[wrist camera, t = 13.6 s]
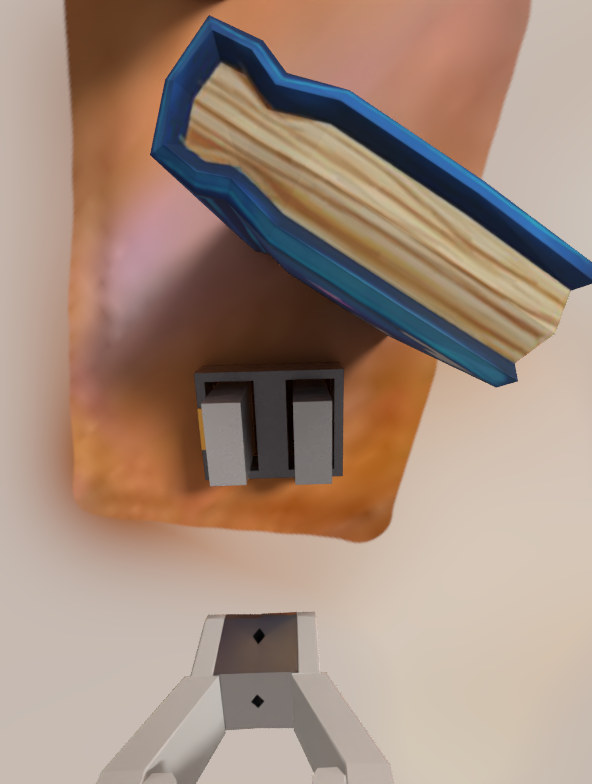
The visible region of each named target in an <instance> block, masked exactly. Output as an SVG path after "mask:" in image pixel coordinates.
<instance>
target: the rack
mask: <svg viewBox="0 0 592 784" xmlns="http://www.w3.org/2000/svg"><path fill="white" fill-rule="evenodd" d="M194 378H195V387H196V396H197V406H198V409H197V411H198V420H199V430H200V439H201V448H202V451H203V461H204V470H205V479H206V480H209V472H208V463H207V453H206V444H205V435H204V426H203V417H202V407H201V403H202V402H203V401H204V400H205V398H206V397H207V396H208V395H209V393H210V392H211V391H212V389H213V382H223V381H253V382H254V399H255V415H256V431H257V447H258V456H253V459H252V464H251V468H250V472H249V477H248V479H254V478H289V477H295V485H301V484H332V476H343V394H344V369H343V367H342V366H341V364H340V363H339V362H320V363H284V364H248V365H212V366H202V367H201V368H200V369H199V370H197V371H196V372H195V373H194ZM330 378H331V396H330V394H329V391H328V388H327V385H326V382H325V380H324V379H330ZM286 380H293V419H294V453H295V455H289V445H288V416H287V387H286Z"/></svg>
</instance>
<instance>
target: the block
mask: <svg viewBox="0 0 592 784" xmlns="http://www.w3.org/2000/svg"><path fill="white" fill-rule="evenodd" d="M201 407H202V417H203V426H204V435H205V444H206V453H207V463H208V472H209V481H210V486H229V485H247V481H248V477H249V472H250V468H251V464H252V459H253V455H254V451H255V438H254V423H253V408H252V393H251V381H223V382H218V383H217V384H216V386H215V387H214V388H213V389H212V391H211V392H210V393H209V395H208V396H207V397H206V398H205V400H204V401H203V402H202V403H201Z"/></svg>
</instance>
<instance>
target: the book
mask: <svg viewBox="0 0 592 784" xmlns="http://www.w3.org/2000/svg"><path fill="white" fill-rule="evenodd" d="M150 155H151V156H152V157H153V158H154V159H155V160H156V161H157V162H158V163H159V164H160V165H161V166H163V167H164V168H165V169H166V170H167V171H168V172H169V173H170V174H171V175H172V176H173V177H175V178H176V179H177V180H178V181H179V182H180V183H181V184H182V185H183V186H184V187H185V188H187V189H188V190H189V191H190V192H191V193H192V194H193V195H194V196H195V197H196V198H197V199H199V200H200V201H201V202H202V203H203V204H204V205H205V206H206V207H207V208H208V209H209V210H211V211H212V212H213V213H214V214H215V215H216V216H217V217H218V218H219V219H220V220H221V221H223V222H224V223H225V224H226V225H227V226H228V227H229V228H230V229H231V230H232V231H233V232H234V233H236V234H237V235H238V236H239V237H240V238H241V239H242V240H244V241H245V242H246V243H247V244H248V245H249V246H251V247H252V248H253V249H254V250H255V251H258V252H262V253H267V254H270V255H271V256H272V257H273V258H274V259H275V260H276V261H277V262H278V263H279V264H280V265H281V266H282V267H283V268H284V269H285V270H286V271H287V272H288V273H289V274H290V275H292V276H294V277H295V278H297V279H298V280H300V281H301V282H303V283H304V284H306V285H308V286H309V287H311V288H312V289H314V290H315V291H317V292H318V293H320V294H322V295H323V296H325V297H326V298H328V299H329V300H331V301H333V302H334V303H336V304H337V305H339V306H340V307H342V308H344V309H345V310H347V311H349V312H350V313H352V314H353V315H355V316H357V317H358V318H360V319H362V320H363V321H365V322H367V323H368V324H370V325H371V326H373V327H375V328H376V329H378V330H380V331H381V332H383V333H385V334H386V335H388V336H390V337H392V338H394V339H396V340H398V341H400V342H402V343H404V344H406V345H409V346H411V347H413V348H415V349H417V350H419V351H421V352H423V353H425V354H427V355H429V356H432V357H434V358H436V359H438V360H440V361H442V362H444V363H446V364H448V365H450V366H452V367H454V368H457V369H459V370H461V371H463V372H465V373H467V374H469V375H471V376H473V377H475V378H478V379H480V380H482V381H484V382H486V383H488V384H490V385H492V386H494V387H500V386H503V385H506V384H510V383H514V382H517V381H518V379H517V374H516V369H515V363H516V362H517V361H518V360H520V359H521V358H522V357H524V356H525V355H527V354H528V353H529V352H531V351H532V350H533V349H535V348H536V347H537V346H539V345H540V344H541V343H543V342H544V341H545V340H547V339H548V338H550V337H551V336H552V335H554V334H555V332H556V329H557V327H558V324H559V321H560V319H561V316H562V313H563V310H564V308H565V305H566V302H567V300H568V297H569V294H570V291H571V290H574V289H577V288H580V287H583V286H586V285H589V284H592V262H591V261H590V260H588V259H587V258H585V257H584V256H583V255H582V254H580V253H579V252H578V251H576V250H575V249H574V248H572V247H571V246H570V245H568V244H567V243H566V242H564V241H563V240H562V239H560V238H559V237H558V236H556V235H555V234H554V233H552V232H551V231H550V230H548V229H547V228H546V227H544V226H543V225H542V224H540V223H539V222H538V221H536V220H535V219H534V218H532V217H531V216H529V215H528V214H527V213H526V212H524V211H523V210H522V209H520V208H519V207H517V206H516V205H515V204H514V203H512V202H511V201H510V200H508V199H507V198H506V197H504V196H503V195H502V194H500V193H499V192H498V191H496V190H495V189H494V188H492V187H491V186H490V185H488V184H487V183H486V182H484V181H483V180H482V179H480V178H479V177H477V176H476V175H474V174H473V173H471V172H470V171H468V170H467V169H465V168H464V167H462V166H461V165H459V164H458V163H456V162H455V161H453V160H452V159H451V158H449V157H448V156H446V155H445V154H443V153H442V152H440V151H439V150H437V149H436V148H434V147H433V146H431V145H430V144H428V143H427V142H425V141H424V140H422V139H421V138H419V137H418V136H416V135H415V134H413V133H412V132H411V131H409V130H408V129H406V128H405V127H403V126H402V125H400V124H399V123H397V122H396V121H394V120H393V119H391V118H390V117H388V116H387V115H385V114H384V113H382V112H381V111H379V110H378V109H376V108H375V107H373V106H372V105H371V104H369V103H368V102H366V101H365V100H363V99H362V98H360V97H359V96H357V95H356V94H354V93H353V92H351V91H350V90H347V89H343V88H339V87H336V86H332V85H328V84H325V83H321V82H318V81H314V80H310V79H307V78H303V77H299V76H296V75H292V74H288V73H286V71H285V70H284V69H283V67H282V66H281V65H280V63H279V62H278V60H277V59H276V58H275V56H274V55H273V54H272V52H271V51H270V50H269V48H268V47H267V45H266V44H265V43H264V41H263V40H260V39H258V38H256V37H254V36H252V35H250V34H248V33H246V32H244V31H241V30H239V29H237V28H235V27H233V26H231V25H229V24H227V23H225V22H222V21H220V20H218V19H216V18H214V17H212V16H210V15H209V16H208V17H207V19H206V20H205V22H204V23H203V25H202V26H201V28H200V29H199V31H198V32H197V34H196V35H195V37H194V38H193V39H192V41H191V42H190V44H189V45H188V47H187V48H186V50H185V51H184V53H183V54H182V56H181V57H180V59H179V60H178V62H177V63H176V65H175V66H174V68H173V69H172V71H171V72H170V73H169V75H168V76H167V78H166V79H165V84H164V89H163V93H162V98H161V103H160V108H159V113H158V118H157V123H156V128H155V133H154V138H153V143H152V148H151V153H150Z"/></svg>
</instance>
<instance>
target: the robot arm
mask: <svg viewBox="0 0 592 784" xmlns="http://www.w3.org/2000/svg"><path fill="white" fill-rule="evenodd" d="M251 728H294V731H295V733H296V736H297V738H298V739H299V742H300V744H301V746H302V748H303V750H304V752H305V755H306V757H307V759H308V761H309V763H310V765H311V767H312V770H313V772H314V775H313V776H312V784H394V782H393V777H392V772H391V767H390V763H389V762H388V760H387V759H386V758H385V756H384V755H383V753H382V752H381V751H380V749H379V748H378V746H377V745H376V744H375V742H374V740H373V739H372V738H371V736H370V735H369V733H368V732H367V730H366V729H365V728H364V727H363V725H362V723H361V722H360V720H359V719H358V717H357V716H356V714H355V713H354V712H353V710H352V709H351V707H350V706H349V704H348V703H347V702H346V700H345V699H344V697H343V696H342V694H341V693H340V692H339V690H338V689H337V687H336V686H335V684H334V683H333V682H332V680H331V679H330V677H329V676H328V674H327V673H326V672H320V661H319V648H318V634H317V620H316V613H315V612H298V613H297V612H290V613H270V614H269V613H268V614H254V615H253V614H249V615H248V614H228V615H208V616H207V618H206V620H205V623H204V627H203V630H202V634H201V638H200V642H199V645H198V649H197V653H196V657H195V661H194V664H193V668H192V672H191V676H187V677H184V678H183V679H182V680H181V681H180V683H179V684H178V685H177V686H176V687H175V688H174V689H173V691H172V692H171V693H170V694H169V695H168V696H167V697H166V699H165V700H164V701H163V702H162V703H161V704H160V705H159V706H158V708H157V709H156V710H155V711H154V712H153V713H152V714H151V716H150V717H149V718H148V719H147V720H146V721H145V722H144V724H143V725H142V726H141V727H140V728H139V729H138V731H137V732H136V733H135V734H134V735H133V736H132V737H131V739H130V740H129V741H128V742H127V743H126V744H125V745H124V746H123V748H122V749H121V750H120V751H119V752H118V753H117V754H116V756H115V757H114V758H113V759H112V760H111V761H110V763H109V764H108V765H107V766H106V767H105V768H104V769H103V770H102V772H101V773H100V776H99V778H98V781H97V783H96V784H196V782H197V781H198V779H199V777H200V775H201V774H202V772H203V770H204V769H205V767H206V765H207V764H208V762H209V760H210V759H211V756H212V755H213V753H214V752H215V750H216V748H217V747H218V745H219V743H220V742H221V740H222V738H223V736H224V735H225V730H236V729H251Z"/></svg>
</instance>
